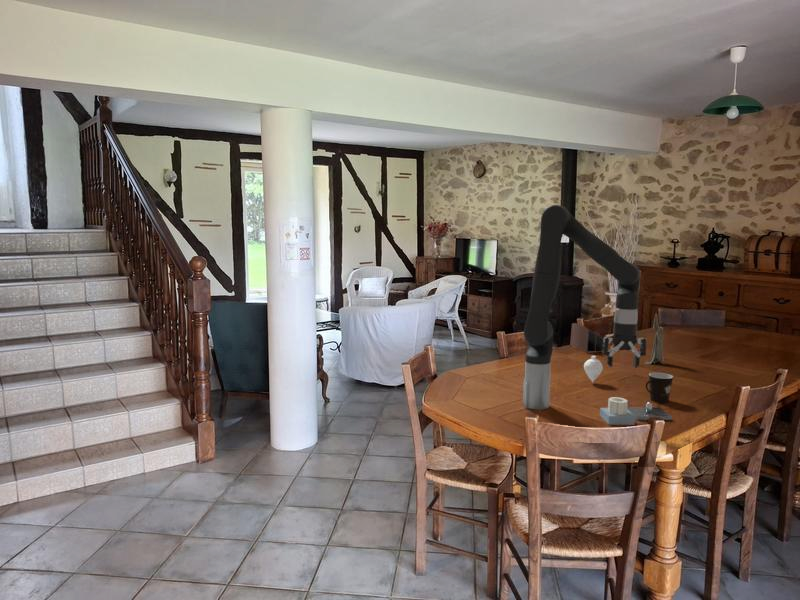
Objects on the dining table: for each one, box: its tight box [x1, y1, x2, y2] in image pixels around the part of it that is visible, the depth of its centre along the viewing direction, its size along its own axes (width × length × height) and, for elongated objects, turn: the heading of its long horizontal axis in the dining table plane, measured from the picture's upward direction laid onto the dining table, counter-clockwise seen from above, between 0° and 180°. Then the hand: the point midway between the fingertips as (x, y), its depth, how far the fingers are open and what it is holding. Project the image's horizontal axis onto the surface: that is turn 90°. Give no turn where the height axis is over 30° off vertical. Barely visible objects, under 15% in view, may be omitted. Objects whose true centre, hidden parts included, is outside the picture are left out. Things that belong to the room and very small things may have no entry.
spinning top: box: [583, 355, 604, 384], centre depth 244 cm, size 8×8×12 cm
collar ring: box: [607, 396, 629, 415], centre depth 198 cm, size 6×6×4 cm
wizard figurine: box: [644, 313, 666, 365], centre depth 278 cm, size 10×8×25 cm
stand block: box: [599, 407, 636, 426], centre depth 199 cm, size 9×9×3 cm
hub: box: [627, 401, 673, 422], centre depth 203 cm, size 12×10×5 cm
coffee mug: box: [645, 372, 674, 404], centre depth 220 cm, size 12×9×10 cm
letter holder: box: [569, 322, 604, 354], centre depth 311 cm, size 10×20×14 cm, turn 8°
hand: (622, 366), depth 198 cm, fingers open, 8 cm apart
